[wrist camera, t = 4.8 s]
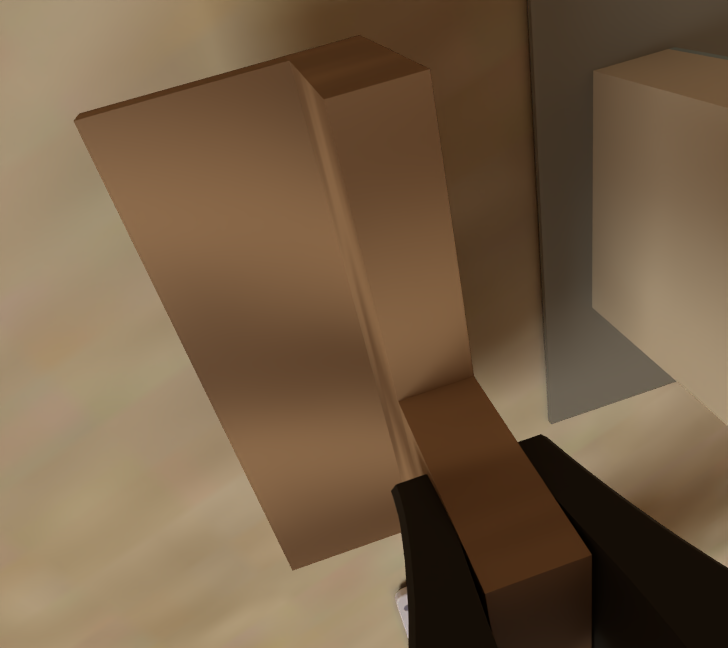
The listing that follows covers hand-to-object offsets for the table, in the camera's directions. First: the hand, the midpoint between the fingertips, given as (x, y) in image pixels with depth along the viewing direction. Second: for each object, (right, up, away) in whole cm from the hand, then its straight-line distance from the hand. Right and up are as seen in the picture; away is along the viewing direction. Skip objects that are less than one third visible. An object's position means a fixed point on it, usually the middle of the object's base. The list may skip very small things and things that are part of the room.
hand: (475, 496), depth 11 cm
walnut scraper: (-3, +2, +5) cm, 6 cm away
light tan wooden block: (+6, +7, +8) cm, 13 cm away
